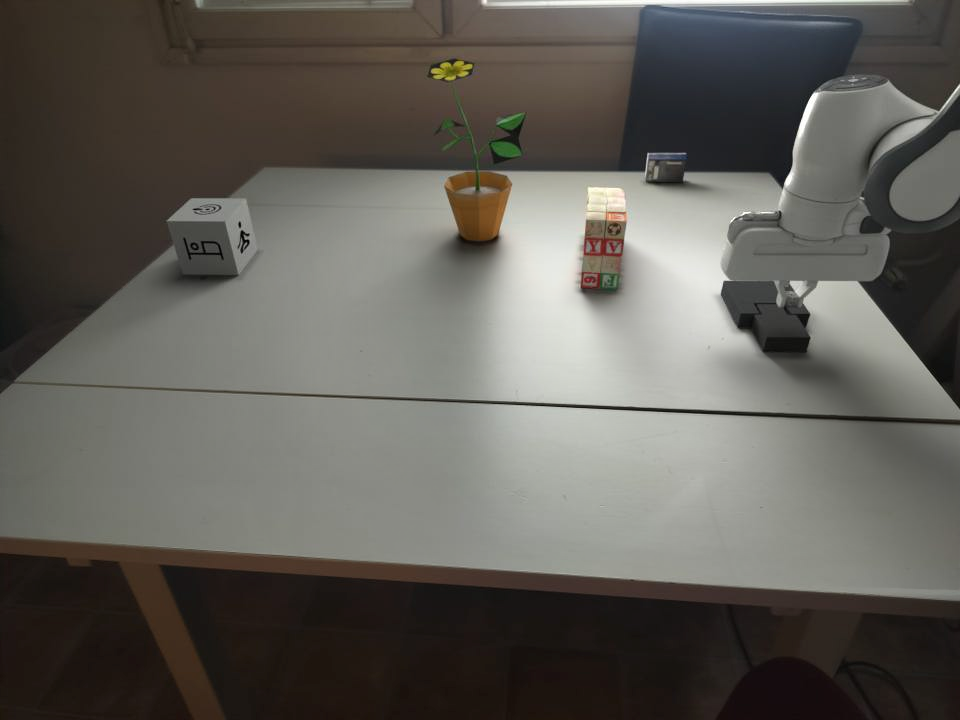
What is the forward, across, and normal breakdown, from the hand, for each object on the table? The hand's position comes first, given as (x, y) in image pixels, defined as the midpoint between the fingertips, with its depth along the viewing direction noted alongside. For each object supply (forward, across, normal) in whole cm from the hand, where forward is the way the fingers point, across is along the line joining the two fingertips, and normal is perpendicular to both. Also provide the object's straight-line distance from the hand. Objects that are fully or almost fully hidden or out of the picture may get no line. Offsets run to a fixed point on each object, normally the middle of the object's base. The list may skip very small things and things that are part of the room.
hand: (788, 305), depth 93 cm
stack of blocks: (+6, -23, +25) cm, 35 cm away
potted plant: (+6, -45, +36) cm, 58 cm away
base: (+6, 0, +8) cm, 10 cm away
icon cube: (+6, -91, +24) cm, 94 cm away
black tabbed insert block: (+6, 0, +2) cm, 6 cm away
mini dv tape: (+6, -5, +64) cm, 65 cm away
